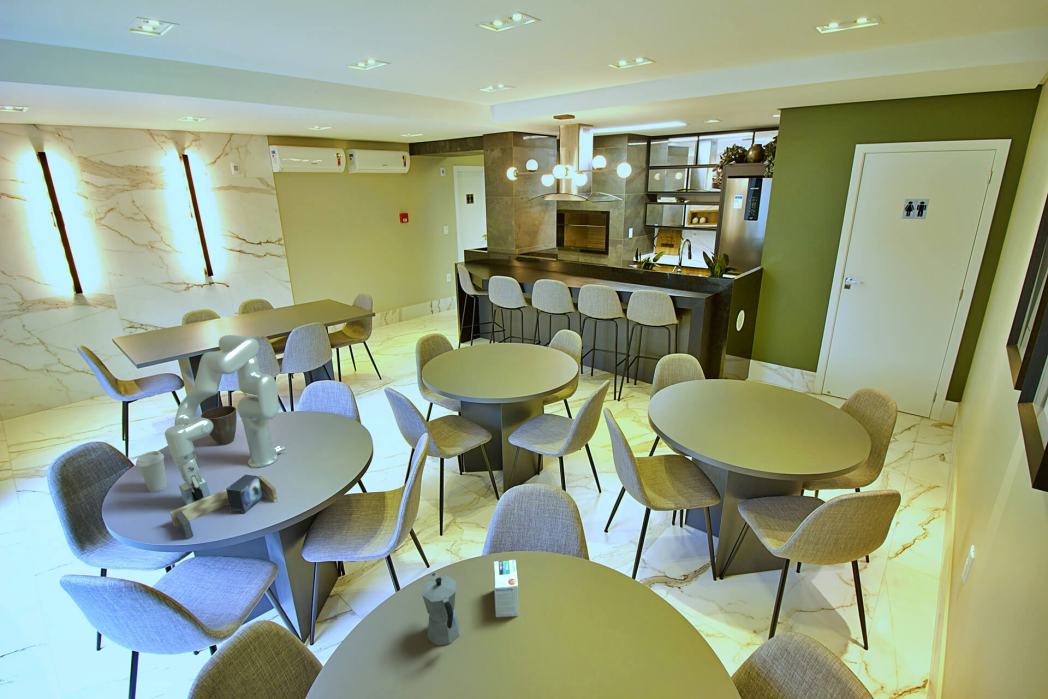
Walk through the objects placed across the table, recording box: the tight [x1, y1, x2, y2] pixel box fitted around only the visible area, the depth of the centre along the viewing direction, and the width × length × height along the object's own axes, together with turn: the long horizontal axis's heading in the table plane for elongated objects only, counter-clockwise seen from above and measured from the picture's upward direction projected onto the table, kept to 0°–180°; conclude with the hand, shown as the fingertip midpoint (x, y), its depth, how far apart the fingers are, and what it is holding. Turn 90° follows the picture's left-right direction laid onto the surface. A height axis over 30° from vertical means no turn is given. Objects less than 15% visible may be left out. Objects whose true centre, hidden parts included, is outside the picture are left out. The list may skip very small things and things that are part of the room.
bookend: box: [175, 511, 194, 540], centre depth 180 cm, size 2×10×6 cm, turn 47°
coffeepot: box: [421, 572, 460, 646], centre depth 134 cm, size 15×9×18 cm, turn 28°
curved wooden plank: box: [169, 474, 278, 528], centre depth 190 cm, size 32×14×6 cm, turn 138°
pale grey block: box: [178, 476, 211, 506], centre depth 197 cm, size 8×6×8 cm
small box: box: [225, 474, 264, 515], centre depth 194 cm, size 11×6×10 cm, turn 168°
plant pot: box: [200, 405, 238, 446], centre depth 244 cm, size 15×15×16 cm
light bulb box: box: [493, 559, 519, 618], centre depth 145 cm, size 11×7×11 cm, turn 5°
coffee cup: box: [135, 450, 168, 493], centre depth 207 cm, size 10×10×15 cm
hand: (196, 495), depth 198 cm, fingers closed on pale grey block, 5 cm apart
